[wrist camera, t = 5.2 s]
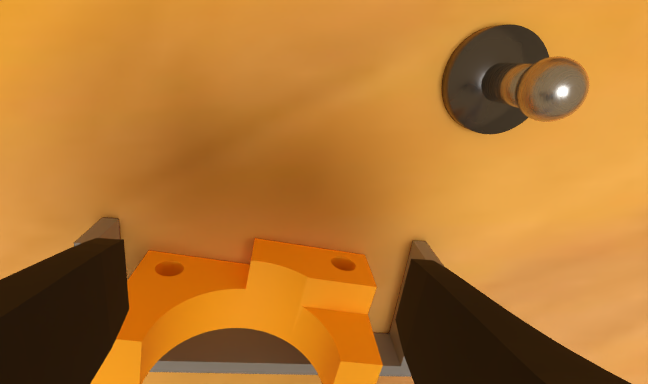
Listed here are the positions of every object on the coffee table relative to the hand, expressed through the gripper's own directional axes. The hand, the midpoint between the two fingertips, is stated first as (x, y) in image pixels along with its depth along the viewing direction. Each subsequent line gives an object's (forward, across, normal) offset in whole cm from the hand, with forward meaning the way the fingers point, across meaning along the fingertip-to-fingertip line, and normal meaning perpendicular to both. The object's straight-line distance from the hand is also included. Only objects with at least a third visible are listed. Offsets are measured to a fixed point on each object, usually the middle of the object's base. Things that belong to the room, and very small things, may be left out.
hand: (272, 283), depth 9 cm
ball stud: (+10, -10, -6) cm, 15 cm away
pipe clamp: (+10, +1, +7) cm, 12 cm away
